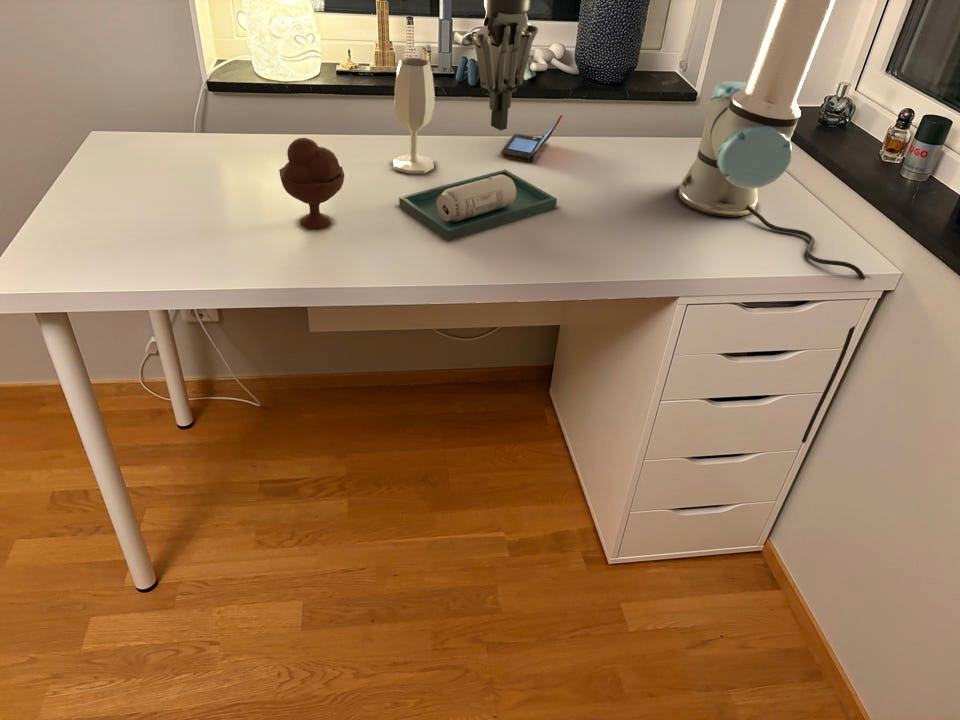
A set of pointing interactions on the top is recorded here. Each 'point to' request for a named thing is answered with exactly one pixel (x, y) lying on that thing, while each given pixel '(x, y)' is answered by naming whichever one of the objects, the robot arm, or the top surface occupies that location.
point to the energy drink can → (476, 198)
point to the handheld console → (526, 145)
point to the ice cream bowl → (311, 179)
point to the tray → (523, 206)
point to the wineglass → (414, 109)
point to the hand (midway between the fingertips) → (498, 127)
